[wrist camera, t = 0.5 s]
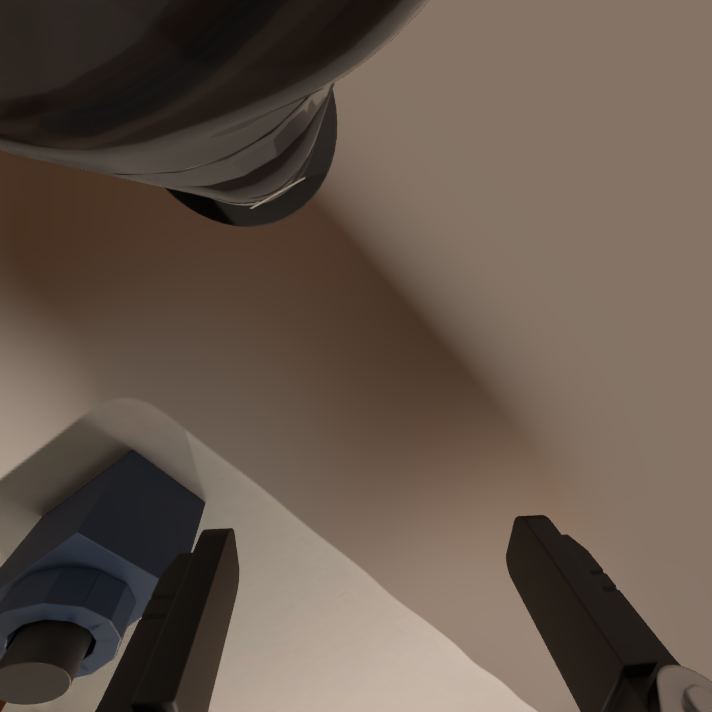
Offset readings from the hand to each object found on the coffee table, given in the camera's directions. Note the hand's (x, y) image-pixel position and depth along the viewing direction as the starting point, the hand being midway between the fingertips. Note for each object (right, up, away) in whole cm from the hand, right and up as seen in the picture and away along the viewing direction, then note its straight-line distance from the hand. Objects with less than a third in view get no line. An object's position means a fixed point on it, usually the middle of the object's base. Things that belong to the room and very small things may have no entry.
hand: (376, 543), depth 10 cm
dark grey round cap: (-17, -10, +8) cm, 21 cm away
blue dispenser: (-18, -6, +16) cm, 25 cm away
